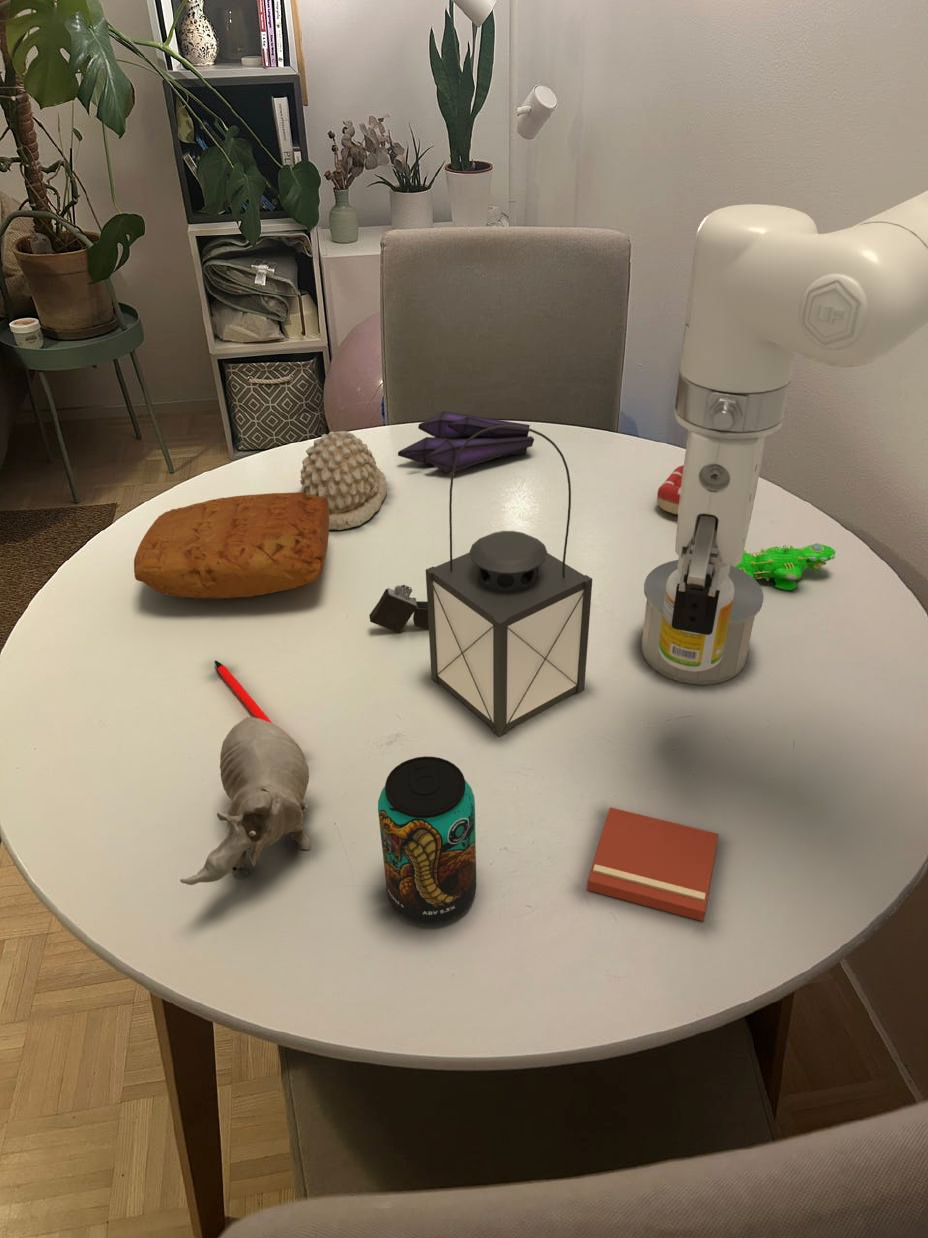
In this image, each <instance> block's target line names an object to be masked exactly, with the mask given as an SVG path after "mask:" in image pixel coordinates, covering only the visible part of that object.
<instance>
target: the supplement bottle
mask: <svg viewBox="0 0 928 1238" xmlns="http://www.w3.org/2000/svg"><path fill="white" fill-rule="evenodd" d="M693 549H694V545H692V548H691V550H693ZM711 553H714V554H718V548H713V547H712V549H711ZM677 560H678V569H677V570H675V571H674V572H673V573H672V574H671V575H670V576H669V578H668V580H667V584H666V591H665V599H664V607H663V615H662V622H661V630H660V637H659V652H660V655H661V656H662V658H663V659H664V660H665V661H666V662H667V663H669V664H670V665H672V666H674V667H676V668H679V669H682V670H687V671H703V670H707V669H710V668H712V667H714V666H716V665H717V664H718V663H719V662H720V661H721V659H722V656H723V652H724V647H725V641H726V635H727V630H728V624H729V619H730V614H731V608H732V603H733V598H734V585H733V582H732V580H731V579H730V578H729V577H728V574H729V571H730V565H728V564H723V562H722V563H721V567H720V573H719V578H718V584H717V589H716V590H720V593H719V598H718V604H717V610H716V616H715V621H714V627H713V632H712V634H710V635H705V634H699V633H694V632H688V631H683V630H677V629H674V628H673V627H672V617H673V610H674V603H675V596H676V589H677V584H678V583H679V584H680V578H681V572H682V566H683V561H684V555H683V557H682V558H680V557H679V556H678V559H677ZM713 565H714V564H708V570H707V574H710V576H711V575H712V570H713Z"/></svg>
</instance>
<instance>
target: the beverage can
mask: <svg viewBox="0 0 928 1238" xmlns="http://www.w3.org/2000/svg"><path fill="white" fill-rule="evenodd" d="M379 794H380V795H379V797H378V801H377V812H378V822H379V831H380V840H381V851H382V858H383V859H382V860H383V867H384V876H385V885H386V893H387V896H388V899H389V902H390V904H391V906H392V907H393V908H394V909H395V910H396V911H397V912H398V913H399V914H400V915H402V916H403V917H404V918H406V919H408V920H411V921H413V922H416V923H421V924H438V923H444V922H447V921H449V920H453V919H454V918H456V917H457V916H459V915H460V914H462V913H463V912H464V911H465V910H466V909H468V907H469V906H470V904H471V903H472V902H473V900H474V897H475V895H476V891H477V886H478V885H477V845H476V844H477V841H476V840H477V839H476V836H477V835H476V801H475V795H474V791H473V789H472V787H471V786H470V784H469V783H468V781H467V780H466V779H465V777H464V774H463V772H462V771H461V769H460V768H459V767H458V766H457V765H456V764H455V763H453V762H451V761H449V760H447V759H444V758H442V757H438V756H437V757H436V756H428V755H427V756H425V755H424V756H417V757H413V758H410V759H407V760H404V761H403V762H400V763H399V764H398V765H396V766H395V767H394V768H393V769H392V770H391V771H390V772H389V774H388V776H387V777H386V780H385V784H384V786H383V788H382V790H381V791H380V793H379Z"/></svg>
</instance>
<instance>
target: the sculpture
mask: <svg viewBox="0 0 928 1238" xmlns="http://www.w3.org/2000/svg"><path fill="white" fill-rule="evenodd" d="M305 452H306V454H307V456H306V457H305V458H303V460H302V461H301V464H302V468H301V469H300V476H299V477H300V480H299V483H300V485H301V489H300V491H299V492H301V493H304V494H313V495H317V496H318V497H324V498H327V499H328V503H329V531H330V530H337V531H341V530H345V529H350V528H354V527H358V526H361V525H363V524H364V523H365V522H367V521H369V520H370V519H371V518H372V517H373V516H374V514H375V513H376V512H378V511H379V510H380V508H381V506H382V502H383V501H384V500H385V497H386V495H387V489H388V488H387V486H388V484H387V480H386V477H385V474H384V472H383V471H382V470H381V468H379V467H378V466H377V461H376V458H375V457H374V456H373V453H372V451H371V450H370V449H369V447H368V445H367V443H364V442H363V440H362V439H361V438H358V437H356V435H355V434H353V433H352V432H349V431H346V430H341V431H339V430H338V431H330V432H329V433H328V434H326V433H323V434H321V437H320V438H318V439H317V438H316V439H314V440H313V445H312V446H309V447H308V448H307V449H306V450H305Z"/></svg>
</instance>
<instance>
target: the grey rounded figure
mask: <svg viewBox="0 0 928 1238" xmlns="http://www.w3.org/2000/svg"><path fill="white" fill-rule="evenodd" d="M219 755H220V756H219V758H220V759H219V760H220V762H219V764H220V765H219V769H220V780H221V785H222V788H223V790H224V791H225V793H226V796H227V797H228V799H229V800H230V804H229V806H228V808H227V814H225V813H223V812H217V813H216V817H217V818H218V820H219V821H221V822H226V825H227V827H228V833H227V835H226V837H225V839H224V840H223V841H222V842H221V843H220V844H219V845H218V846H217V847H216V848H214V849H213V850H211V852H210V853H209V854H208V856H207V857H206V860H205V863H204V865H203V867H202V868H201V869H200V870H199V871H198V872H197V874H194V875H191V876H189V877H187V878H180V880H179V882H180V883H181V884H185V885H189V886H193V885H196V884H200V883H213V882H217V881H219V880H221V879H223V878H224V877H225V876H227V875H228V874H229V873H230V872H231V873H232V874H233V875H234V876H235V878H236V879H239V880H240V879H242V880H243V879H250V877H249V876H248V875H250V874H251V873H250V872H249V871H247V869H245V867H244V864H245V861H246V859H247V853H248V857H249V860H250V862H251V864H252V866H253V867H255V866H256V864H257V862H258V860H259V856H260V855H261V852H262V850H263V849H265V848H268V847H270V846H272V845H274V844H275V843H277V842H278V841H279V840H280V839H281V838H282V836H283V835H284V834H289V833H290V835H291V836H290V837H291V839H292V840H293V841H296V842H297V843H298V844H297V845H295V848H296V849H297V850H311V849H312V843H311V839H309V837H307V835H306V833H305V832H304V830H305V827H304V826H303V822H304V813H305V812H306V810H307V809H308V807H309V805H308V803H306V801H304V799H305V796H306V792H307V789H308V785H309V780H310V771H309V769H310V768H309V765H308V763H307V760H306V757H305V753H304V752H303V750H302V749H301V747H300V745H299V744H298V743H297V742H296V741H295V740H294V738H293V737H292V736H291V735H289V734H288V732H286V731H285V730H284V729H283V728H281V727H280V726H278V725H277V724H274V723H273V722H272V723H270V722H268V721H265V720H262V719H258V718H256V717H255V716H249V717H245V718H243V719H242V720H241V721H240V722H238V723H236V724H234V726H233V727H232V728H231V729H230V731H228V733H227V735H226V736H225V738H224V740H223V741H222V745H221V747H220V753H219ZM247 851H249V852H247Z"/></svg>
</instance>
